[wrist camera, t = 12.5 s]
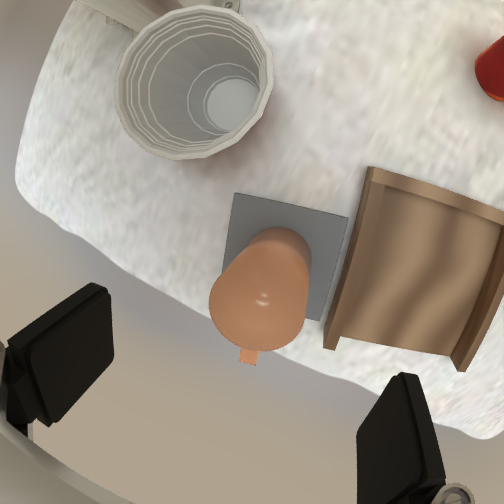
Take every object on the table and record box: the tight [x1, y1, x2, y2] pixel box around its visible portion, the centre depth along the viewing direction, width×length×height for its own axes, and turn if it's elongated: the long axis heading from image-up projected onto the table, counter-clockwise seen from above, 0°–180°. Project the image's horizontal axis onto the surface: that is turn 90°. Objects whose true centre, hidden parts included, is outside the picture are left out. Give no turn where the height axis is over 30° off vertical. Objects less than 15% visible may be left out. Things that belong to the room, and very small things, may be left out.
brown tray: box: [323, 166, 504, 372], centre depth 26 cm, size 17×17×4 cm
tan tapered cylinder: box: [209, 227, 312, 365], centre depth 25 cm, size 9×6×11 cm
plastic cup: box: [115, 5, 274, 160], centre depth 22 cm, size 11×11×12 cm
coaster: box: [222, 193, 348, 321], centre depth 30 cm, size 11×11×1 cm
